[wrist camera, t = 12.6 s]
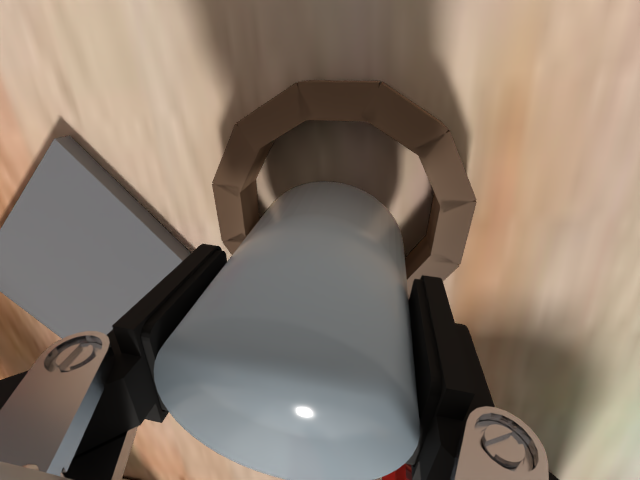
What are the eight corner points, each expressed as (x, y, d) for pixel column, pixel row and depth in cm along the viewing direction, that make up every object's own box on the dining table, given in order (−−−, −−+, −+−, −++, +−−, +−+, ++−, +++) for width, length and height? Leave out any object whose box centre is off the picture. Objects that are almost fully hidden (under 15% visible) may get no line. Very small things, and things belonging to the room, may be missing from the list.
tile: (146, 388, 25) (139, 397, 24) (-12, 265, 21) (-25, 272, 21) (262, 323, 19) (258, 332, 18) (69, 135, 15) (54, 138, 15)
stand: (303, 317, 18) (295, 341, 17) (191, 158, 15) (168, 169, 13) (494, 257, 14) (507, 280, 13) (401, 18, 11) (403, 9, 9)
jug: (239, 193, 12) (103, 322, 6) (394, 169, 11) (405, 310, 5) (301, 364, 17) (256, 531, 11) (416, 365, 15) (436, 560, 9)
